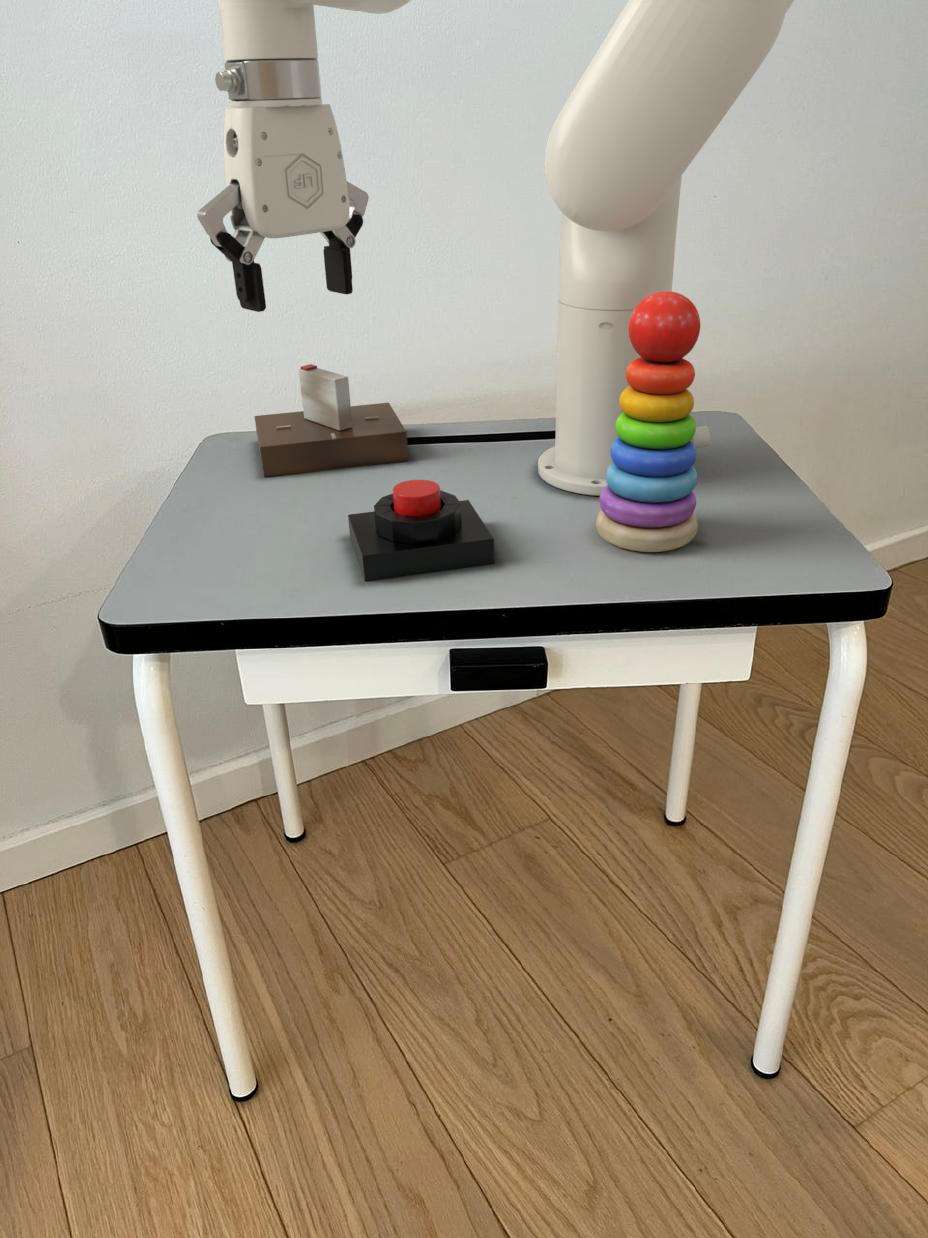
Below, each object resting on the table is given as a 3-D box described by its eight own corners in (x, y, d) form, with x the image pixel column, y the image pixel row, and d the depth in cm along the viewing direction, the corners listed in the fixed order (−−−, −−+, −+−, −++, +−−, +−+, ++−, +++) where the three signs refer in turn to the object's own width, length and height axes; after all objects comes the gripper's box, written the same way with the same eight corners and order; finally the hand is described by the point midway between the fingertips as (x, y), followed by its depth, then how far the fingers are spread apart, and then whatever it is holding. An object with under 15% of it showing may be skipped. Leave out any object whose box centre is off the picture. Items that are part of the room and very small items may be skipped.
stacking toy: (697, 560, 72) (723, 305, 62) (591, 553, 73) (602, 303, 64) (696, 518, 78) (720, 282, 69) (599, 513, 80) (610, 281, 71)
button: (435, 497, 75) (434, 476, 74) (445, 515, 72) (444, 493, 71) (390, 503, 74) (389, 482, 73) (398, 521, 71) (397, 499, 70)
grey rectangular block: (353, 427, 92) (348, 373, 90) (340, 431, 91) (334, 377, 89) (316, 414, 96) (311, 363, 94) (303, 418, 95) (297, 366, 93)
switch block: (469, 524, 79) (467, 478, 77) (494, 564, 72) (493, 516, 70) (350, 539, 77) (345, 493, 75) (364, 582, 70) (360, 533, 68)
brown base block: (390, 429, 101) (388, 400, 99) (408, 461, 92) (406, 430, 91) (258, 443, 98) (254, 413, 97) (263, 477, 90) (259, 445, 88)
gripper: (207, 88, 71) (240, 322, 79) (384, 83, 81) (396, 291, 90) (157, 90, 75) (193, 310, 84) (330, 84, 86) (346, 281, 94)
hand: (298, 300), depth 87 cm, fingers open, 9 cm apart
